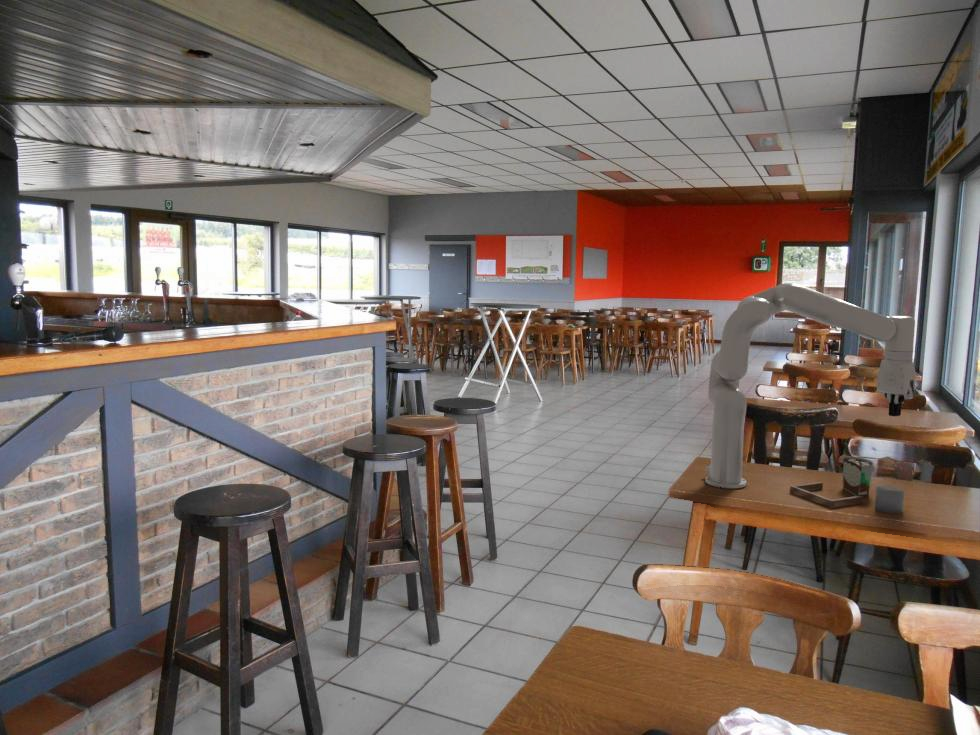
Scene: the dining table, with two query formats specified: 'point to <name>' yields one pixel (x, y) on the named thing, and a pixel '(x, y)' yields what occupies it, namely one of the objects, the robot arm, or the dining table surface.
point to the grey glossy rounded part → (889, 499)
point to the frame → (804, 492)
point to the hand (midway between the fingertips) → (894, 415)
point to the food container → (857, 475)
